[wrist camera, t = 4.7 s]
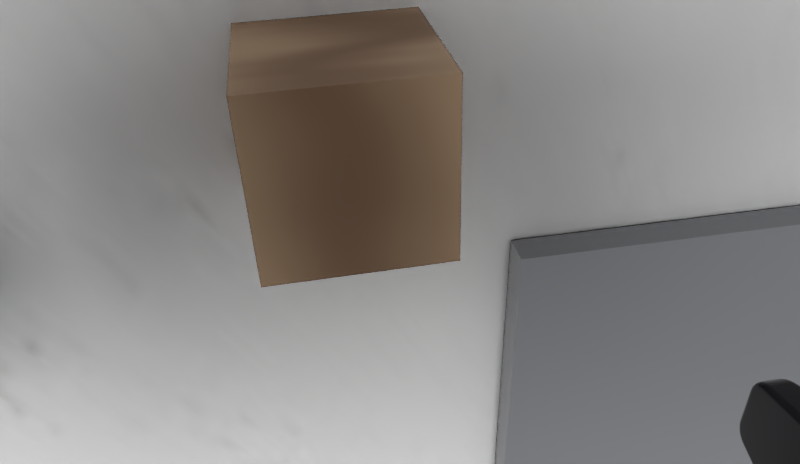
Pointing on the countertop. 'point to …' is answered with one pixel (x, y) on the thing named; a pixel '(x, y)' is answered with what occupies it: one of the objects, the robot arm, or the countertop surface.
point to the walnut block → (347, 143)
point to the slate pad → (647, 339)
